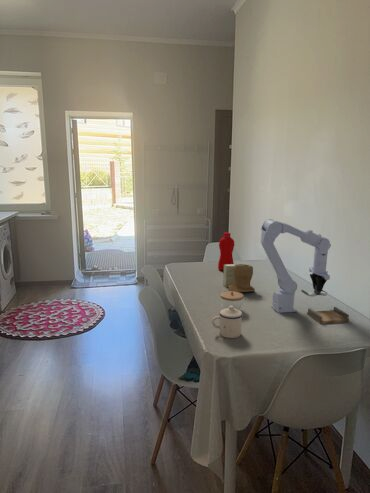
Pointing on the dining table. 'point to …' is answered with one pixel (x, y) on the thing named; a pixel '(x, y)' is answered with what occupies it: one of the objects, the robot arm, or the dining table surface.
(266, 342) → the dining table surface
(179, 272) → the dining table surface
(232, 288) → the brown boot
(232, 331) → the teacup with lid
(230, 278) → the skincare box
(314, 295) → the spectacles
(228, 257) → the red bottle
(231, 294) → the lidded jar
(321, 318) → the stand
